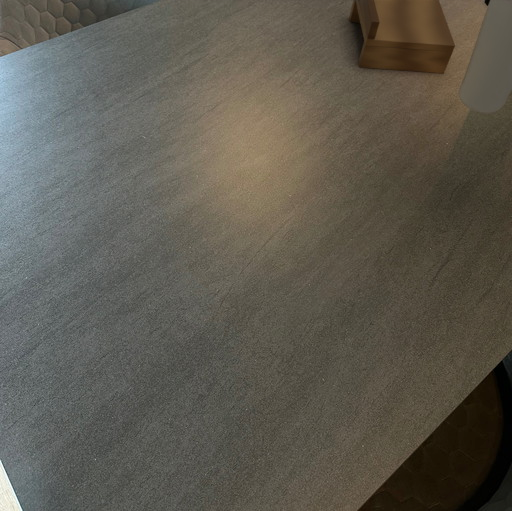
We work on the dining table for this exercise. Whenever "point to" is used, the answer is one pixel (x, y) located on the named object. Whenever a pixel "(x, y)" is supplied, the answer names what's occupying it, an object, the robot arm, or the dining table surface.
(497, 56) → the drinking glass
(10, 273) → the dining table surface
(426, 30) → the tan wooden box
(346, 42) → the dining table surface
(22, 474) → the dining table surface
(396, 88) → the dining table surface
